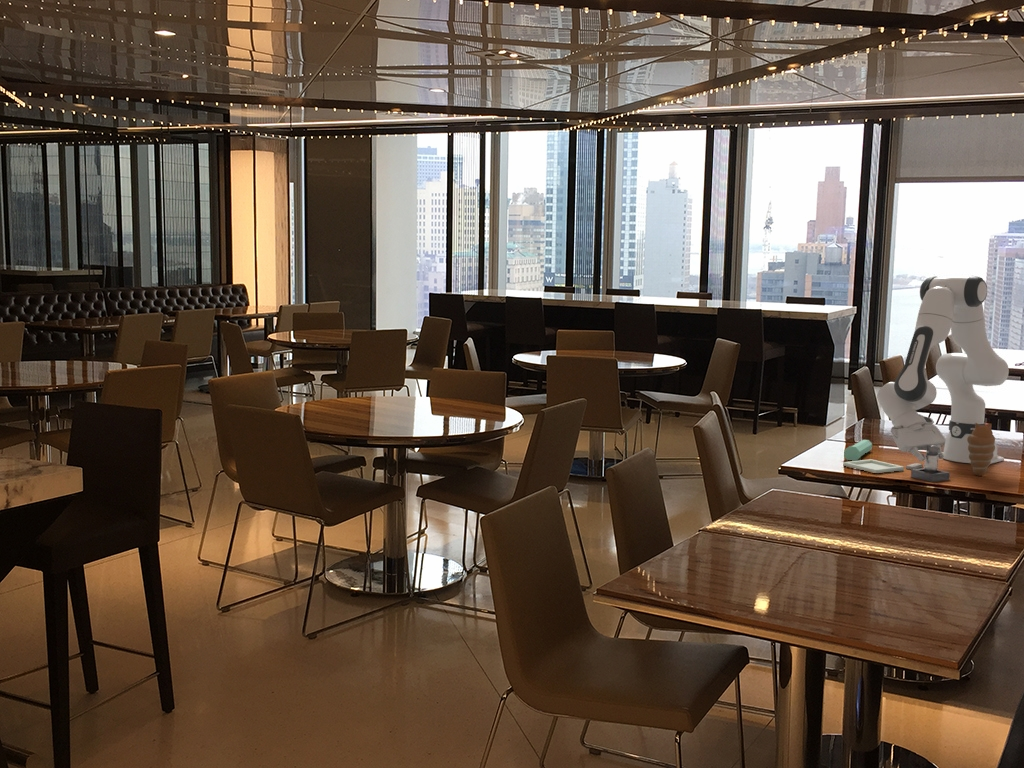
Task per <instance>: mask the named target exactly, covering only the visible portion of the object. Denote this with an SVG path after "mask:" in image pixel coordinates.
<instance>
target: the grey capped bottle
mask: <svg viewBox="0 0 1024 768" xmlns="http://www.w3.org/2000/svg"><path fill="white" fill-rule="evenodd" d="M925 451H926V452H925V455H924V456H925V458H926V459H925V460H924V464H923V468H924V472H927V473H932V474H934V473H937V470H938V466H939V465H938V464H939V459H938V455H937V454H938V446H935V445H927V450H925Z"/></svg>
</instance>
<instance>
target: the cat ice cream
mask: <svg viewBox="0 0 1024 768" xmlns="http://www.w3.org/2000/svg"><path fill="white" fill-rule="evenodd" d="M967 441H968V443H969V445H968V450H969V452H970V454H969V459H970V460H971V463H970V466H971V468H972V473H973V474H974V475H976V476H978V477H981V476H985V475H986V473H987V472H988V467H989V466H990V465H991V464H992V463H991V459H992V458H993V452H994V450H995V445H994V443H996V438H995V435H994V434H993V430H992V423H987V425H986V426H985V425H979V424H977V423H975V429H974V430H973V432H972V434H971V435H969V436H968V438H967ZM990 463H991V464H990Z"/></svg>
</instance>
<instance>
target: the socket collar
mask: <svg viewBox="0 0 1024 768" xmlns="http://www.w3.org/2000/svg"><path fill="white" fill-rule="evenodd" d="M910 471H911V472H910V478H914V479H916V480H917V479H918V480H923V481H927V482H929V483H936V482H943V481H950V477H951V476H950V475H951V472H949V471H946V470H940V469H937V473H934V474H932V473H927V472H924V467H921V468H918V469H913V470H910Z"/></svg>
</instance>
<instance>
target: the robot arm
mask: <svg viewBox="0 0 1024 768" xmlns="http://www.w3.org/2000/svg"><path fill="white" fill-rule="evenodd" d="M987 296H988V285H987V282H986V281H985V280H984V279H983V278H982V277H980V276H976V275H975V276H974V275H970V276H969V275H959V274H958V275H957V274H955V275H946V276H945V275H944V276H931V277H927V278H926V279H924V281H922V282H921V285H920V288H919V297H920V300H921V304H920V306H919V310H918V314H917V319H916V323H915V328H914V332H913V336H912V338H911V342H910V343H909V344H910V345H909V347H908V352H907V354H906V358H905V361H904V365H903V367H902V369H901V371H900V372H899V373H898V375H897V376H896V377H895V380H894V381H890V382H887V383H885V384H883V385H882V386H881V387H880V388H879V390H878V391H877V394H876V398H877V401H878V404H879V406H880V407H881V410H882V411H883V413H884V414H885V415H886V416H887V417H888V418H889V420H890V422H891V424H892V427H891V429H890V433H891V434H892V438H893V441H894V443H895V444H896V446H897V448H898V450H899V451H901V452H902V453H905V452H906V453H907V452H910V454H911V455H913V457H915V458H916V459H917V460H918V461H919V462H923V461H924V462H925V459H926V458H925V455H924V453H921V452H920V451H924V450H925V451H927V445H935V446H938V454H937V455H938V460H942V459H944V460H946V461H950V462H956V463H964V464H971V460H970V459H969V454H970V452H969V450H968V445H969V443H968V441H967V438H968V436H969V435H971V434H972V432H973V430H974V429H975V423H977V424H979V425H985V426H986V425H987V424H988V423H985V416H986V415H985V414H986V401H985V400H984V399H983V398H982V397H981V396H980V395H979V394H978V393H976V391H975V389H974V385H975V386H980V387H981V386H982V387H993V386H994V387H996V386H1000V385H1003V384H1004V383H1005V382H1006V381H1007V380H1008V377H1009V374H1010V373H1009V372H1010V371H1009V365H1008V363H1007V361H1006V360H1005V359H1003V358H1002V357H1001V356H999V354H998V353H996V351H995V350H994V349H993V347H992V346H991V344H990V342H989V339H988V335H987V331H986V322H985V312H984V305H983V303H984V302H985V300H986V298H987ZM950 332H951V340H952V342H953V343H954V344H955V345H956V346H958V347H959V348H961V349H962V350H963V352H964V353H963V352H951V353H943V354H941V355H940V357H938V359H937V360H936V364H935V371H936V375H937V376H938V378H939V379H941V380H942V382H943V383H944V384H945V386H946V387H947V389H948V392H949V395H950V401H951V402H950V403H951V407H950V409H951V410H950V411H951V412H950V420H949V421H948V430H949V431H948V433H947V434H946V436H944V435H943V433H942V432H941V430H940V429H939V428H938V426H937V425H935V424H934V423H935V421H934V420H933V418H932V417H928V416H925V415H922V414H920V413H918V410H921V409H923V408H926V407H927V406H929V405H931V404H933V402H934V401H935V399H936V397H937V389H936V386H935V385H934V384H933V383H932V381H930V380H929V379H927V378H926V375H925V369H926V366H927V361H928V358H929V356H930V355H929V354H930V352H931V349H932V347H934V346H935V345H938V344H941V343H942V342H944V341H946V340H947V339H948V336H949V333H950ZM994 445H995V450H994V452H993V458H992V459H991V463H990V465H992V464H995V463H998V462H1003V461H1005V458H1004V457H1003V456H1000V455H998V443H996V442H995V443H994ZM943 446H944V447H943ZM942 447H943V448H942Z"/></svg>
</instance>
